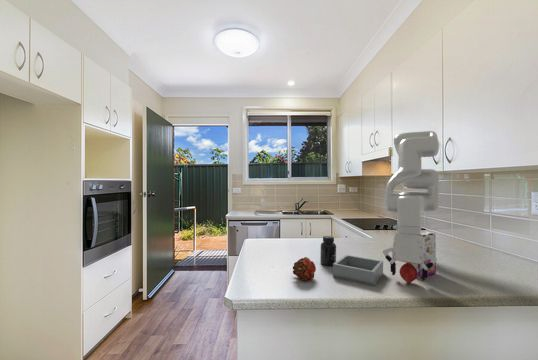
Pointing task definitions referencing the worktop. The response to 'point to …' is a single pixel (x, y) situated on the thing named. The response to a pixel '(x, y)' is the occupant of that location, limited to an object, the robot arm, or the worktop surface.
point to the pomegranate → (408, 272)
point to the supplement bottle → (328, 251)
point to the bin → (358, 269)
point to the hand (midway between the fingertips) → (408, 277)
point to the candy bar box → (429, 248)
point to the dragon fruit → (304, 268)
